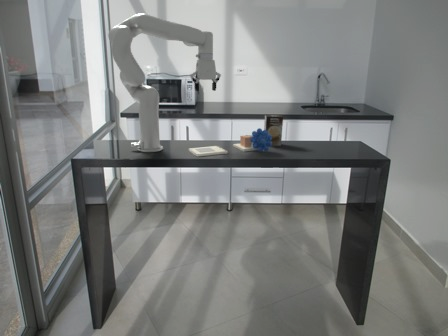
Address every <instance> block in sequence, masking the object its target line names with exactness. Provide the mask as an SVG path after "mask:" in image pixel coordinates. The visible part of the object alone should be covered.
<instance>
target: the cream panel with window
mask: <svg viewBox="0 0 448 336" xmlns="http://www.w3.org/2000/svg"><path fill="white" fill-rule="evenodd" d="M188 152H189V153H192V154H193V155H194V156H196V157H207V156H217V155H225V154H226V155H227V154H228V150H226V149H224V148H222V147H221V146H219V145H212V146H204V147H203V146H201V147H192V148H191V147H190V148H188Z"/></svg>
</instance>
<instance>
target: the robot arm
mask: <svg viewBox="0 0 448 336" xmlns="http://www.w3.org/2000/svg"><path fill="white" fill-rule="evenodd" d="M140 34H142V35H143V34H144V35H147V36H150V37H155V38H157V39H162V40H165V41H179V42H182V43H183V44H184V46H187V47H198V49H197V52H198V53H196V54H195V57H196V58H197V60H196V65H195V66H196V67H195V71H193V72H192V73H190V74H189V77H190V79H191V81H192V82H193V83H194V90H195V91H196V92H199V91H200V85H199V82H200V80H201V81H203V80H205V81H207V80H209V81H210V80H211V81H212V84H211V85H212V86H211V87H212V88H211V89H212V91H216V90H217V83H218V82H219V80H220V79H221V77H222V74H221V73H220V72H217V71H216V70H217V69H216V63H215V62H216V61H215V59H213V58H214V34H213V32H212V31H207V30H206V31H202V30H201V29H199V28H196V27H192V26H191V25H190V26H189V25H186V24H182V23H177V22H174V21H169V20H167V19H166V20H165V19H163V18H159V17H156V16H153V15H150V14H148V13H147V14H146V13H137V14H134V15H132V16H130V17H129V18H127V19H125V20H124V21H122V22H120V23H119V24H117V25H115V26H113V27H111V29H110V30H109V31H108V34H107V35H108V40H109V42H110V43H111V55H112V58H113V60H114V63H115V64H116V66H117V67H118V69H119V79H120V81H121V83H122V85H123V86H124V87H125V89H126V91H127V92H128V93H129V95H130V96H131V98H132V99H133V100H134V101H135V102H136V103H137V104H139V108H138V120H139V121H138V122H139V140H138V141H137V142H130V147H132V148H133V147H134V148H137V151H138V152H142V153H154V152H155V153H156V152H160V151H163V150H164V146H163V145H161V144H160V142H161V141H160V139H161V138H160V118H159V115H160V114H159V107H160V106H159V105H160V94H159V92H158V90H157V89H156V88H155V87H153V86H151V85H146V83H145V82H146V75H145V73H144V71H143V69H142V68H141V66H140V65H139V63H138V61H137V60H136V58H135V57H134V54H133V53H132V47H131V46H132V42H133V40H134V38H136V37H138V35H140ZM194 76H195V77H194Z"/></svg>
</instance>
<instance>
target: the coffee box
mask: <svg viewBox="0 0 448 336" xmlns="http://www.w3.org/2000/svg"><path fill="white" fill-rule="evenodd" d="M283 124H284V116H283V115H282V114H264V124H263V125H264V126H263V130H267V131H268V135H271V136H272V140H270V141H271V142H272V146H271V147H281V146H282V140H283V139H282V137H283V126H284V125H283Z"/></svg>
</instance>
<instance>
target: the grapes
mask: <svg viewBox="0 0 448 336" xmlns="http://www.w3.org/2000/svg"><path fill="white" fill-rule="evenodd" d="M250 137H251V138H250V141H251V142H252V146H253V148H257V151H258V152H260V153H261V152H263V151H265V152H267V151H269V150H270V149H269V148H270V147H273V146H272V142H271V141H270V140H272V136H271V135H268V131H267V130H264V129H262V128H261V127H260V128H257V130H253V131H252V132H251V136H250Z"/></svg>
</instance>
